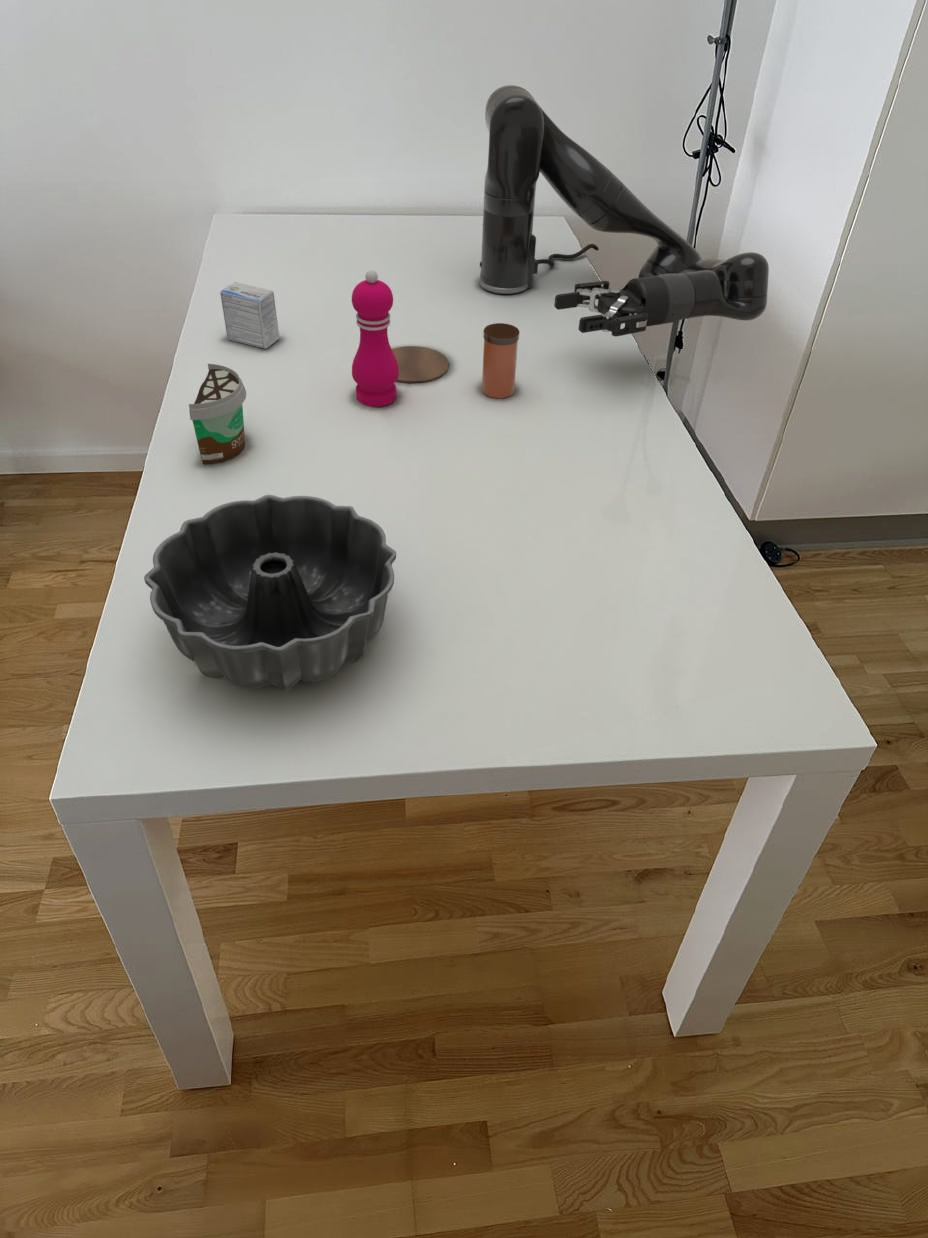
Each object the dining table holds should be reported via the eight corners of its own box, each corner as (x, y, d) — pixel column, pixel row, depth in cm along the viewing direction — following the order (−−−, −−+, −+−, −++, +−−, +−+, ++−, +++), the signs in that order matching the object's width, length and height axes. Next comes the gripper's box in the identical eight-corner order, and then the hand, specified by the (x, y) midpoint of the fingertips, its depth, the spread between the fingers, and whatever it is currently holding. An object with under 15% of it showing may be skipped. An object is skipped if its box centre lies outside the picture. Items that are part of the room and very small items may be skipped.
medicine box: (280, 339, 158) (275, 290, 152) (265, 350, 155) (259, 300, 149) (241, 329, 160) (234, 280, 154) (226, 340, 157) (218, 290, 151)
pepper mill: (406, 390, 146) (404, 265, 132) (388, 412, 141) (385, 284, 127) (364, 382, 148) (358, 257, 134) (345, 403, 143) (337, 276, 129)
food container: (244, 471, 128) (234, 407, 121) (200, 470, 128) (187, 406, 121) (260, 425, 137) (252, 363, 130) (219, 423, 137) (208, 361, 130)
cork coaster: (434, 343, 158) (434, 341, 158) (459, 376, 150) (459, 374, 150) (367, 354, 155) (366, 351, 154) (389, 387, 147) (389, 385, 146)
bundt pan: (219, 543, 116) (206, 477, 110) (422, 575, 113) (422, 509, 106) (120, 694, 97) (97, 625, 91) (360, 738, 94) (355, 670, 87)
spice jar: (506, 379, 150) (510, 320, 143) (520, 395, 146) (525, 336, 139) (475, 384, 148) (478, 325, 141) (488, 401, 144) (491, 341, 138)
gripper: (677, 341, 145) (585, 356, 140) (633, 304, 155) (545, 317, 150) (686, 295, 140) (591, 309, 135) (640, 259, 150) (550, 271, 145)
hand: (567, 313), depth 143 cm, fingers open, 8 cm apart
